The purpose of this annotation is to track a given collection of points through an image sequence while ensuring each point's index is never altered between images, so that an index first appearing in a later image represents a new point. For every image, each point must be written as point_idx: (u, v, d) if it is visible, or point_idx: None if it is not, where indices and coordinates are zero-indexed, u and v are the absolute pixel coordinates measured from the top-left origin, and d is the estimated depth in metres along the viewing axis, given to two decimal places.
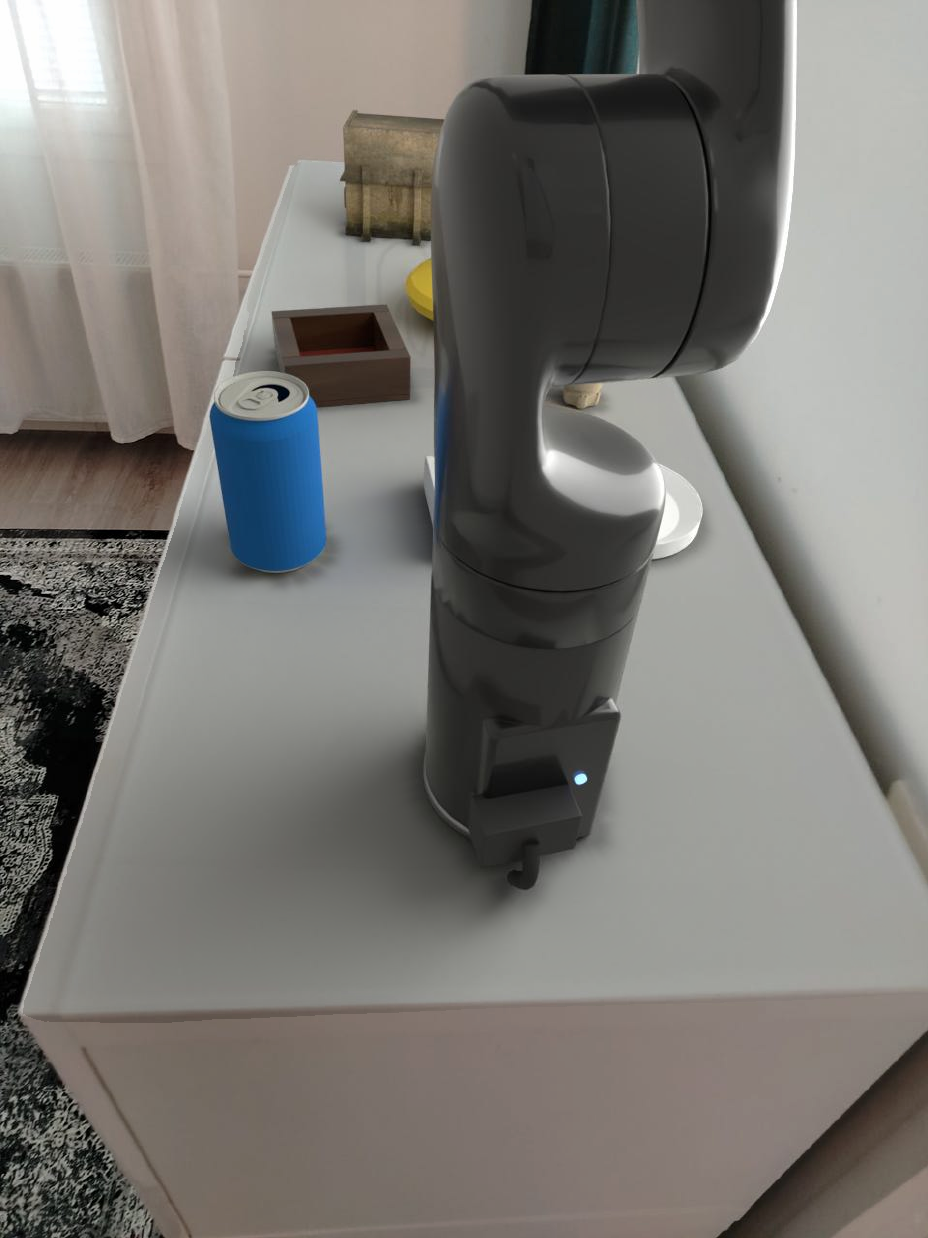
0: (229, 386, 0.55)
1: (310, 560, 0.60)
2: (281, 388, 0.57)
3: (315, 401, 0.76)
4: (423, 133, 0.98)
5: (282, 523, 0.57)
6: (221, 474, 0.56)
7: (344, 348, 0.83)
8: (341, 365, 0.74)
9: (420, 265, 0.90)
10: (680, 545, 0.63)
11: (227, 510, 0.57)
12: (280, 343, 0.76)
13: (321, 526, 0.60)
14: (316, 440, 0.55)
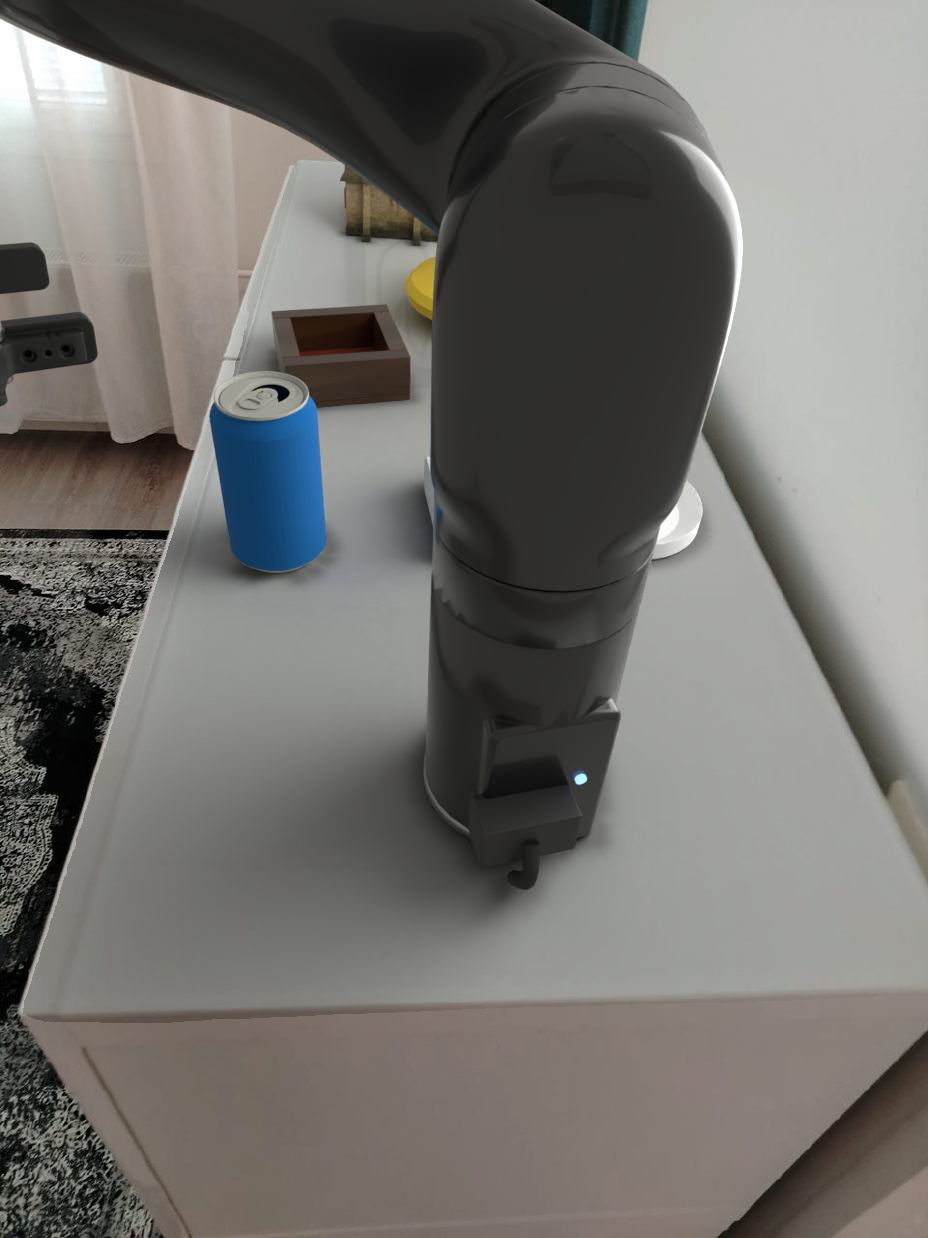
0: (229, 387, 0.55)
1: (310, 560, 0.60)
2: (281, 388, 0.57)
3: (315, 401, 0.76)
4: None
5: (282, 523, 0.57)
6: (221, 474, 0.56)
7: (344, 348, 0.83)
8: (341, 365, 0.74)
9: (420, 265, 0.90)
10: (680, 545, 0.63)
11: (227, 510, 0.57)
12: (280, 343, 0.76)
13: (321, 526, 0.60)
14: (316, 440, 0.55)
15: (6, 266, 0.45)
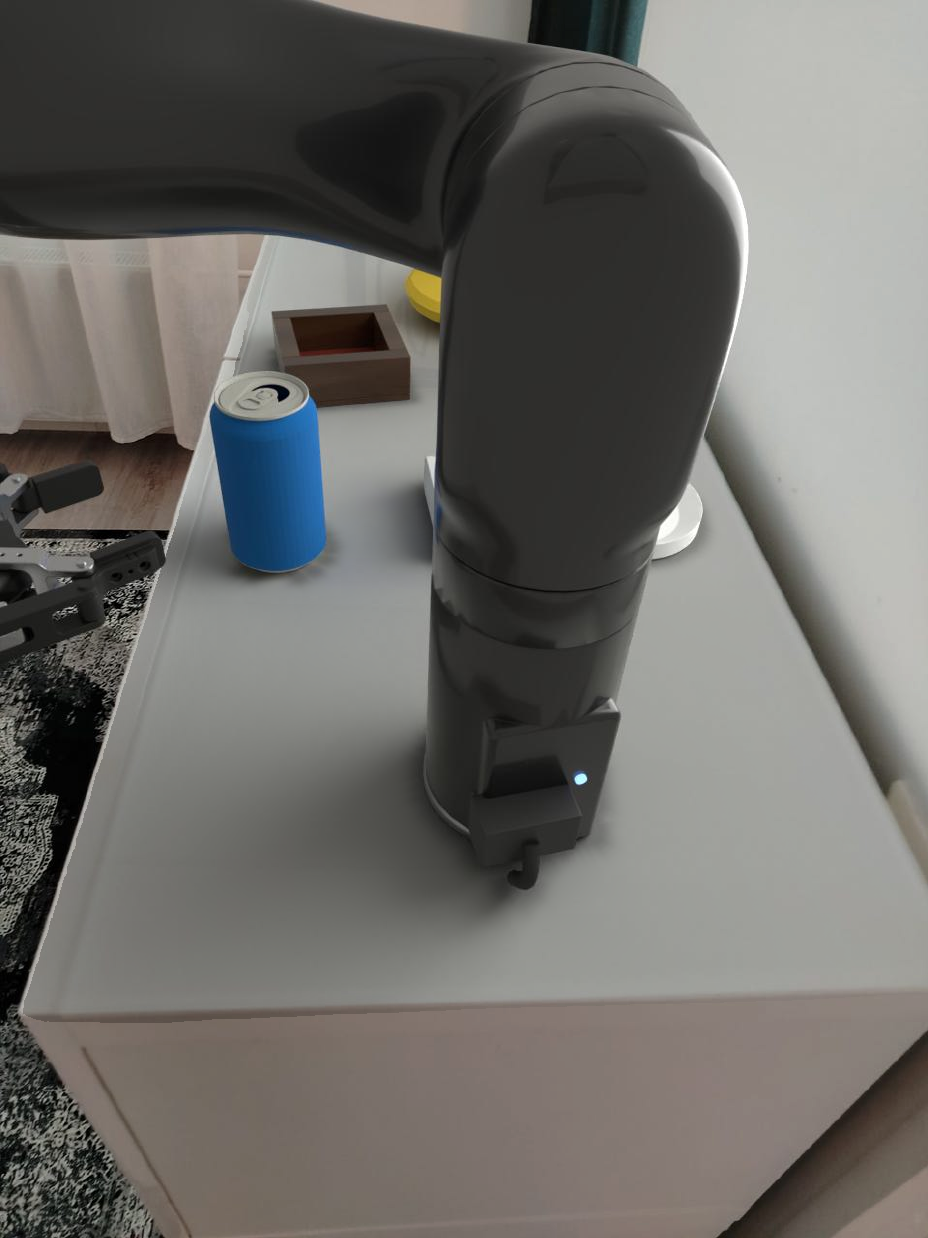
0: (229, 386, 0.55)
1: (310, 560, 0.60)
2: (281, 388, 0.57)
3: (315, 401, 0.76)
4: None
5: (282, 523, 0.57)
6: (221, 474, 0.56)
7: (344, 348, 0.83)
8: (341, 365, 0.74)
9: None
10: (680, 545, 0.63)
11: (227, 510, 0.57)
12: (280, 343, 0.76)
13: (321, 526, 0.60)
14: (316, 440, 0.55)
15: (69, 485, 0.53)
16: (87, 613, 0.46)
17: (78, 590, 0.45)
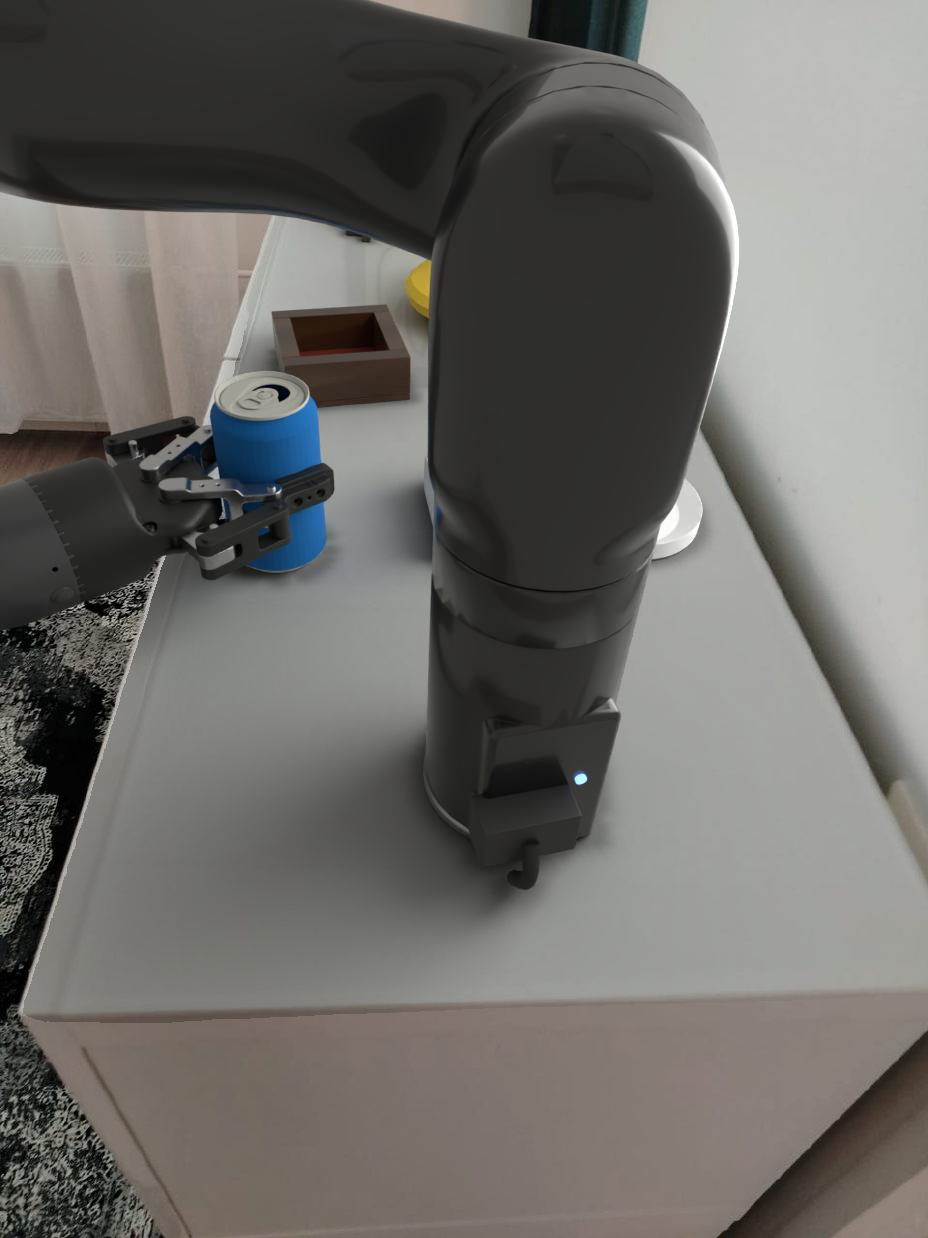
0: (229, 386, 0.55)
1: (310, 560, 0.60)
2: (281, 388, 0.57)
3: (315, 401, 0.76)
4: None
5: None
6: (221, 474, 0.56)
7: (344, 348, 0.83)
8: (341, 365, 0.74)
9: (420, 265, 0.90)
10: (680, 545, 0.63)
11: (227, 510, 0.57)
12: (280, 343, 0.76)
13: (321, 526, 0.60)
14: (316, 440, 0.55)
15: None
16: (279, 531, 0.52)
17: (274, 509, 0.52)
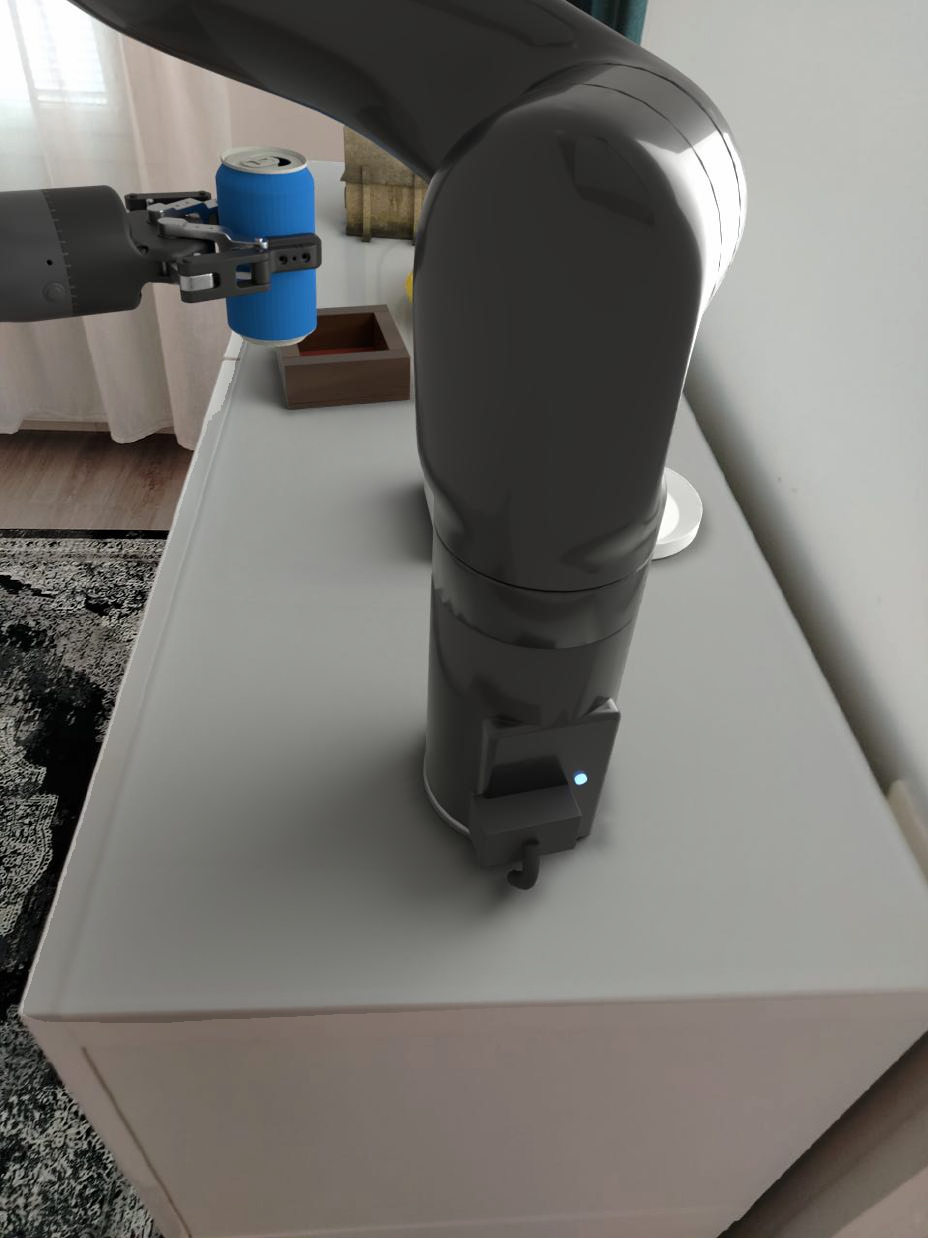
0: (238, 153, 0.60)
1: (295, 336, 0.65)
2: None
3: (315, 401, 0.76)
4: None
5: (270, 287, 0.62)
6: None
7: (344, 348, 0.83)
8: (341, 365, 0.74)
9: None
10: (680, 545, 0.63)
11: None
12: None
13: (309, 306, 0.64)
14: (309, 210, 0.60)
15: None
16: (258, 274, 0.57)
17: (255, 251, 0.57)
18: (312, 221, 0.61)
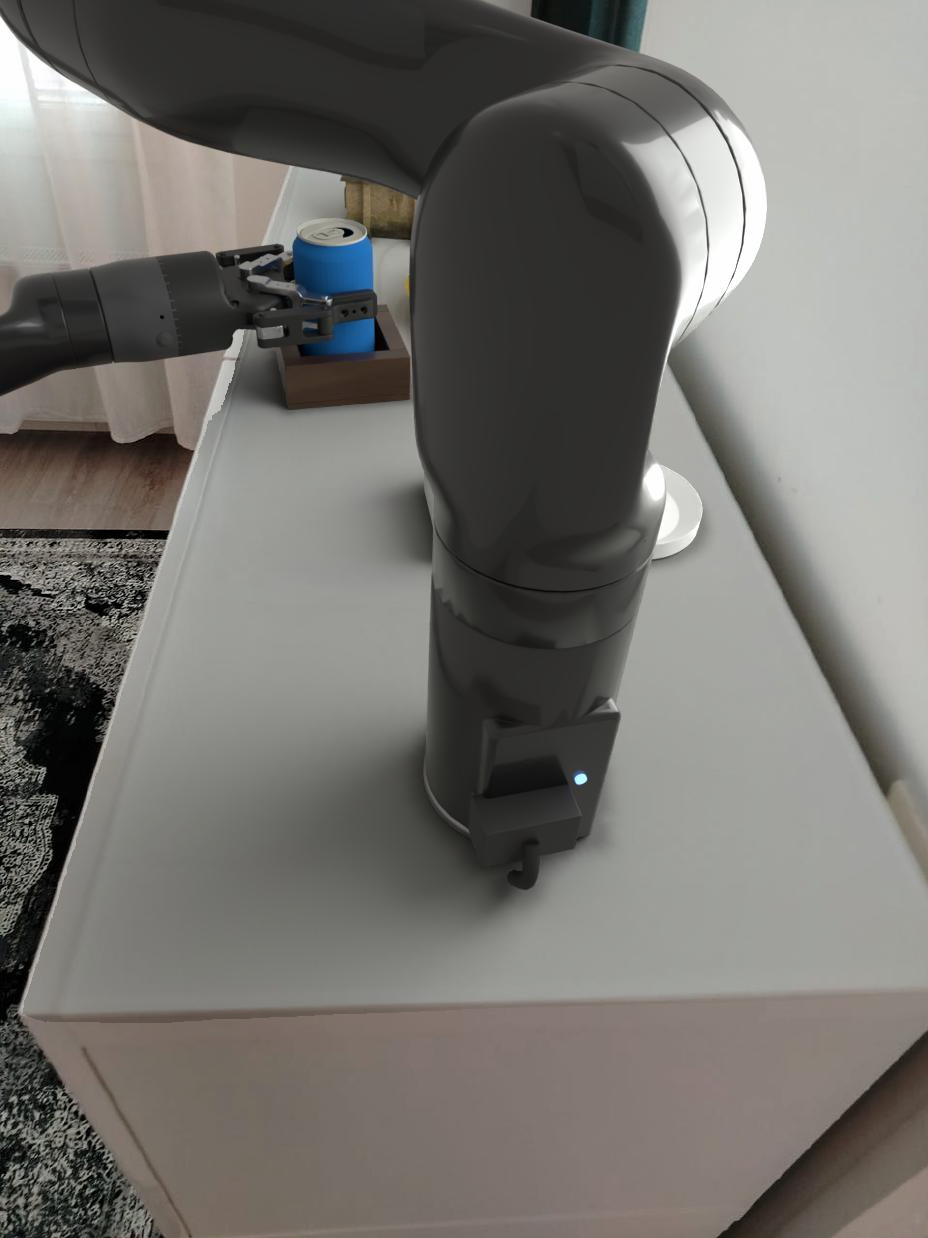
0: (311, 225, 0.73)
1: None
2: (352, 234, 0.75)
3: (315, 401, 0.76)
4: None
5: (335, 335, 0.75)
6: None
7: None
8: (341, 365, 0.74)
9: None
10: (680, 545, 0.63)
11: None
12: None
13: (368, 348, 0.77)
14: (367, 272, 0.73)
15: None
16: (323, 327, 0.69)
17: (320, 309, 0.69)
18: (370, 280, 0.74)
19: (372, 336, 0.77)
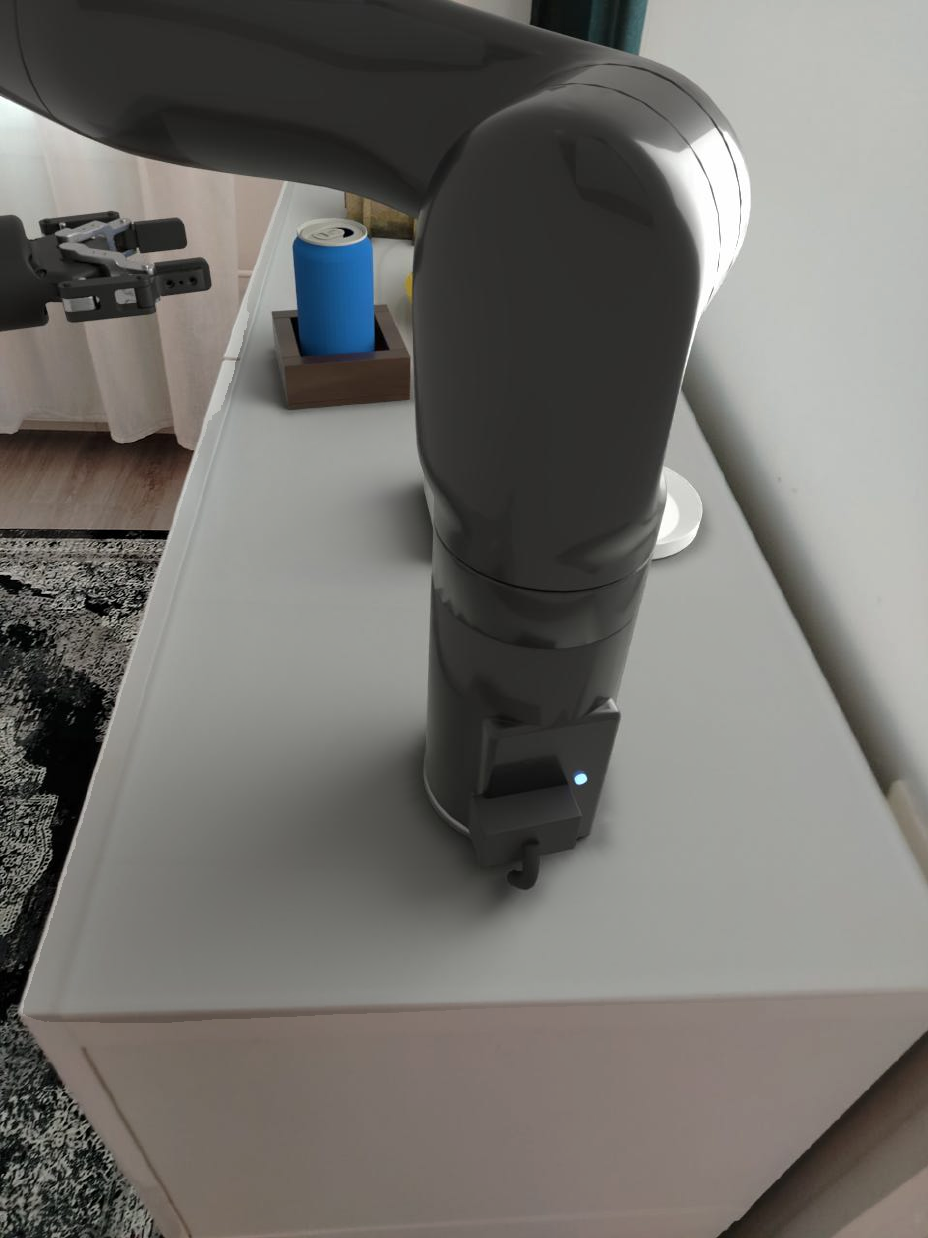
0: (311, 225, 0.73)
1: None
2: (352, 234, 0.75)
3: (315, 401, 0.76)
4: None
5: (335, 335, 0.75)
6: (296, 291, 0.74)
7: None
8: (341, 365, 0.74)
9: None
10: (680, 545, 0.63)
11: (299, 323, 0.76)
12: (280, 343, 0.76)
13: (368, 348, 0.77)
14: (368, 272, 0.73)
15: (160, 233, 0.70)
16: (141, 299, 0.62)
17: (136, 278, 0.61)
18: (370, 280, 0.74)
19: (372, 336, 0.77)
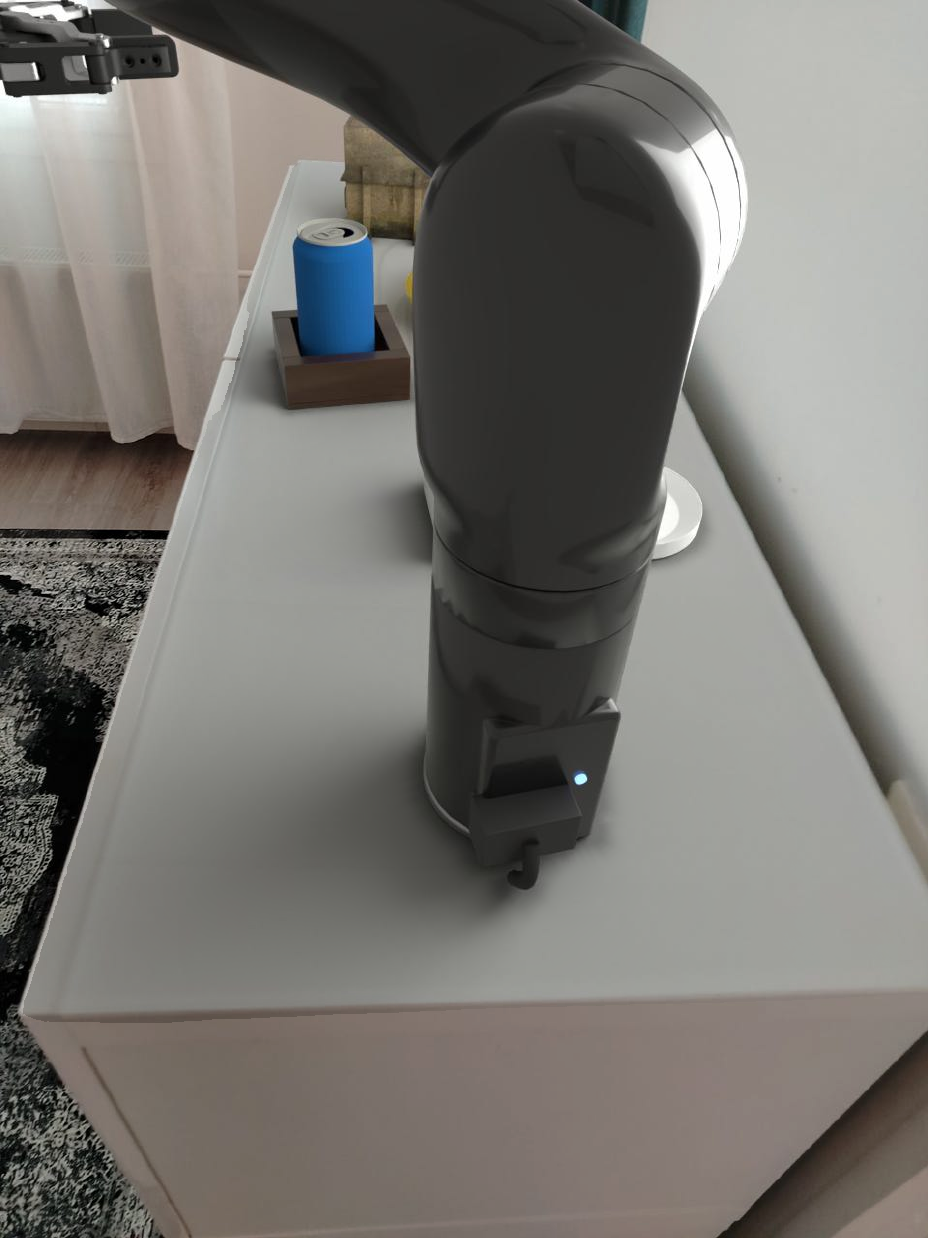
0: (311, 225, 0.73)
1: None
2: (353, 234, 0.75)
3: (315, 401, 0.76)
4: None
5: (335, 335, 0.75)
6: (296, 291, 0.74)
7: None
8: (341, 365, 0.74)
9: None
10: (680, 545, 0.63)
11: (299, 322, 0.76)
12: (280, 343, 0.76)
13: (368, 348, 0.77)
14: (368, 272, 0.73)
15: (122, 25, 0.61)
16: (94, 71, 0.53)
17: (87, 44, 0.52)
18: (370, 280, 0.74)
19: (372, 336, 0.77)
